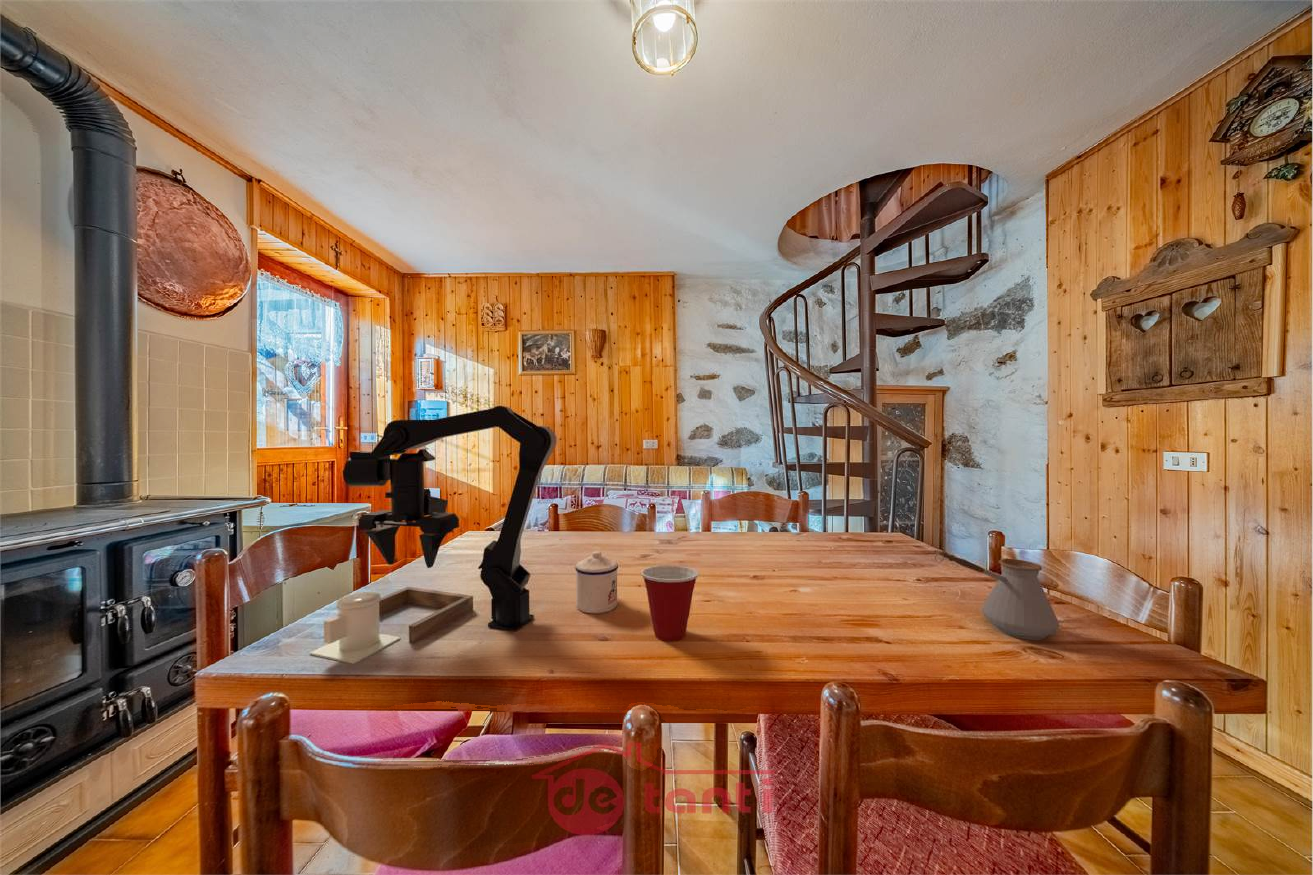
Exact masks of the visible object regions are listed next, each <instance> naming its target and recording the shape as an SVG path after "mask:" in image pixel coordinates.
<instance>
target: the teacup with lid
mask: <svg viewBox="0 0 1313 875" xmlns="http://www.w3.org/2000/svg"><path fill="white" fill-rule="evenodd" d="M618 569H619V565H618V562H617V561H616V560H614V559H612V558H609V557H607V556H605V555H603V554H602V552H601V551H599V550H597V551H596V550H595V551H592V553H591V556H589V557H586V558H585V559H581V560H579V561H578V562H577V563H576V564H575V571H576V608H577V609H578V610H579V611H581V612H583V613H586V614H603V613H608V612H610V611H613V609H615V608H616V607H617V605H618Z"/></svg>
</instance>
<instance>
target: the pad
mask: <svg viewBox="0 0 1313 875" xmlns="http://www.w3.org/2000/svg"><path fill="white" fill-rule="evenodd" d="M401 638H402V637H401V636H400V637H399V636H395V635H389V634H384V633H380V640H379V642H378V643H377V644H375V645H373V646H371V647H369V648H366V649H363V650H359V651H353V652H344V651H341V650H340V649H339V640H337V641H335V642H333V643H331V644H330V643H326V644H325V645H324V646H321V647H319V648H317V649H315V650H312V651H310V652H309V655H310V656H311V655H312V656H316V657H320V658H325V659H329V660H334V661H339V662H342V663H343V662H344V663H349V664H352V665H354V664H356V663H358V662H361V661H362V660H365V659H366V658H368V657H370V656H371V655H373V654H375V653H377V652H379V651H381V650H383V649H384V648H386V647H388V646H390V645H392V644H394V643H396V642H398V641H399V640H401Z"/></svg>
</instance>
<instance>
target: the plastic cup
mask: <svg viewBox="0 0 1313 875" xmlns="http://www.w3.org/2000/svg"><path fill="white" fill-rule="evenodd" d="M699 574H700V572H699V571H698V570H697V569H695V568H693V567H688V566H683V565H654V566H649V567H646V568H643V569H642V570H641V571H640V575H641V576H642V578H643V581H644V585H645V589H646V594H647V601H648V608H649V611H650V612H649V613H650V618H651V620H652V621H651V622H652V629H653V632H654V633H653V634H654V636H655V637H656V638H657V639H658V640H661V641H664V642H665V641H666V642H677V641H680V640H681V639H683V638H685V636H686V632H687V627H688V622H689V617H690V613H691V608H692V607H691V605H692V601H693V599H692V598H693V594H694V589H695V584H696V580H697V578H698V576H699Z"/></svg>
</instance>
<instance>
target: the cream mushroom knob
mask: <svg viewBox="0 0 1313 875" xmlns="http://www.w3.org/2000/svg"><path fill="white" fill-rule="evenodd" d="M380 598H381V593H379V592H378V591H377V592H376V591H363V592H362V591H361V592H356V593H351V594H348V595H346V596H343V597H341V598H340V599H338V600H337V601H336V608H337V609H338V610H337V611H338V614H337V615H335V616H332V617H330V618H328V619H324V620H323V631H324V632H323V637H324V638H323V640H324V641H323V642H324V644H325V643H326V644H329V643H330V644H331V643H333V642H335V641H337V640H339V649H340V650H341V651H344V652H353V651H359V650H363V649H366V648H369V647H371V646H373V645H375V644H377V643H378V642H379V640H380V634H381V630H380V625H381V624H380V616H379V601H380Z"/></svg>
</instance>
